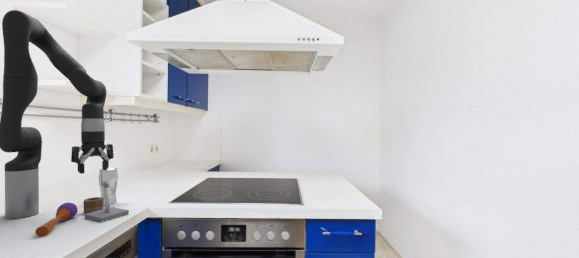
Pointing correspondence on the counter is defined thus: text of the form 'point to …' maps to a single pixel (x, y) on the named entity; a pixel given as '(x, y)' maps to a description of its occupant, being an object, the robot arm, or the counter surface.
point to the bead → (93, 204)
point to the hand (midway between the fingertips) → (93, 171)
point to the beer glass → (108, 183)
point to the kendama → (58, 218)
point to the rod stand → (106, 211)
